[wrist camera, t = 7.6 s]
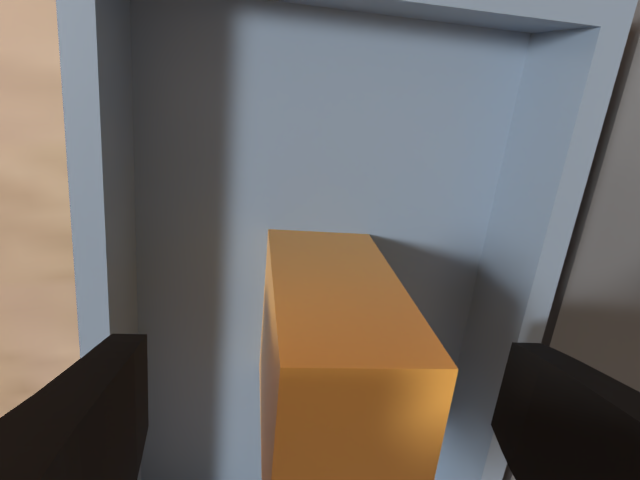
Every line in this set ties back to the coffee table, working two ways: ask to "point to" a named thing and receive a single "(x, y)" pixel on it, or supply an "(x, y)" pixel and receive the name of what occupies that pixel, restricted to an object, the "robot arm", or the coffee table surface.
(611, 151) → the panel
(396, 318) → the orange fuse
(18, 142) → the coffee table surface
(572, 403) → the robot arm
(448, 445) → the tray
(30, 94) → the coffee table surface
